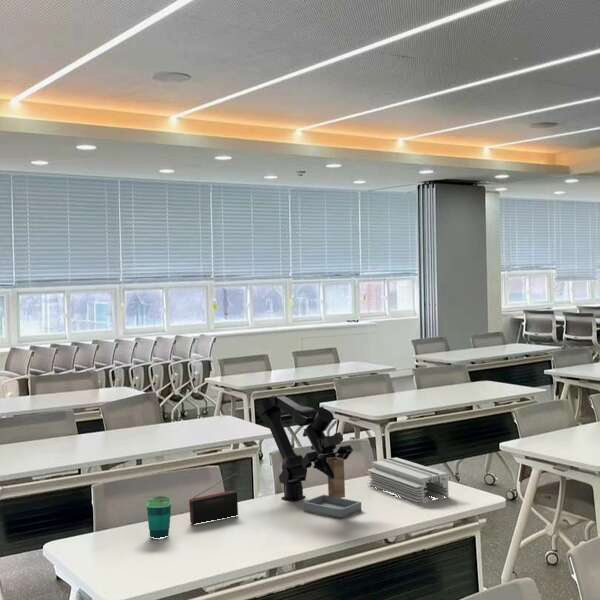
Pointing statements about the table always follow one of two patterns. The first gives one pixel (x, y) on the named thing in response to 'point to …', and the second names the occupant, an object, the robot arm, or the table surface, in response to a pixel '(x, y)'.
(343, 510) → the tray
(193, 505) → the radio
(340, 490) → the block
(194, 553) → the table surface
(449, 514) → the table surface
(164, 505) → the cup
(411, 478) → the aluminum extrusion profile
